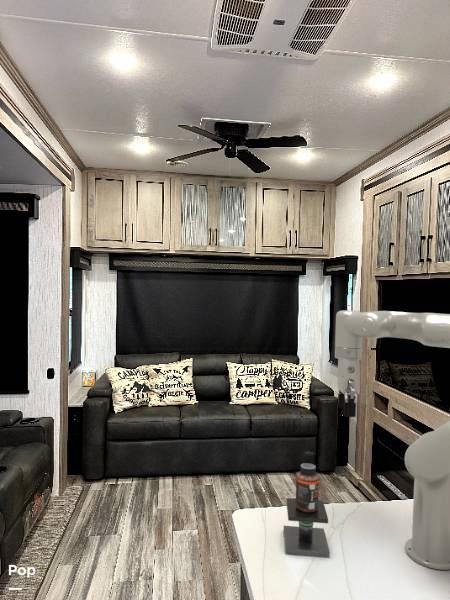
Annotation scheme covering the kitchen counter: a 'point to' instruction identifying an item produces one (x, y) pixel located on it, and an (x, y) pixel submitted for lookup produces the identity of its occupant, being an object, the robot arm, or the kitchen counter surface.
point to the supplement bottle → (307, 488)
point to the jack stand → (306, 532)
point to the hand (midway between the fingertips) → (346, 411)
